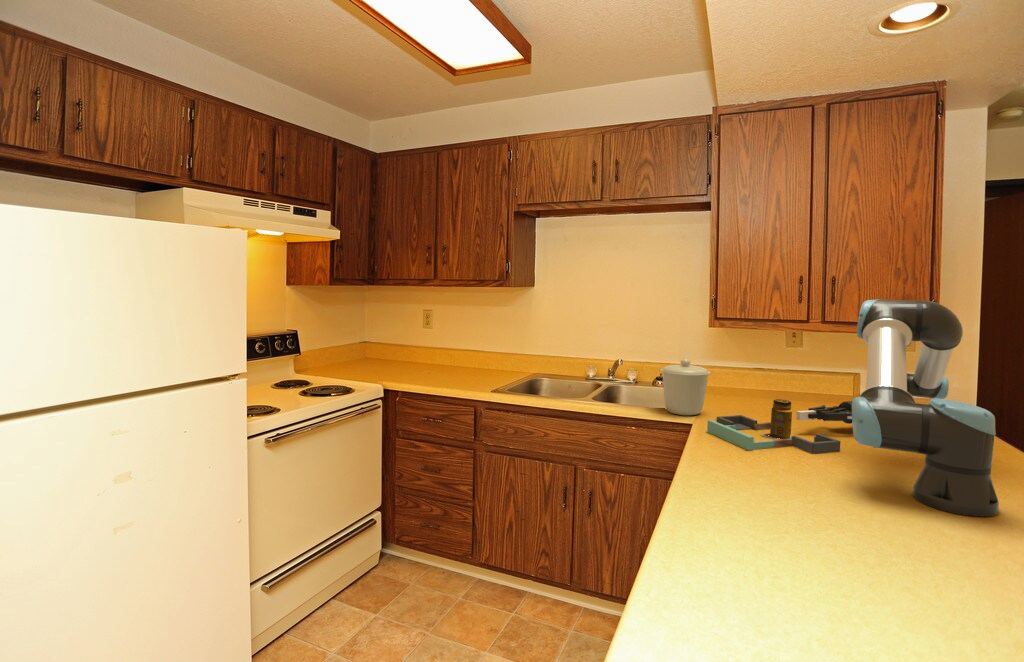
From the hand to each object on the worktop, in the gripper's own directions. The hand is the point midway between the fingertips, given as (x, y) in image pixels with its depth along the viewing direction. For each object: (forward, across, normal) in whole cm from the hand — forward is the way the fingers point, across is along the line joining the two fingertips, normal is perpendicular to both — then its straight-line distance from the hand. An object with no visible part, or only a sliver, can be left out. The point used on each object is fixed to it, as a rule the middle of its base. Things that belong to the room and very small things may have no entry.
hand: (798, 415), depth 177 cm
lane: (+8, 0, -6) cm, 10 cm away
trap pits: (+10, 0, -6) cm, 12 cm away
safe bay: (+23, -1, -6) cm, 24 cm away
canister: (+20, +35, -7) cm, 41 cm away
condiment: (+8, 0, -7) cm, 10 cm away
